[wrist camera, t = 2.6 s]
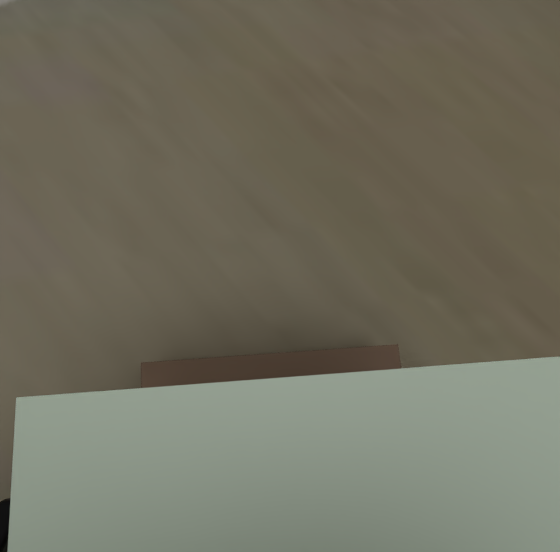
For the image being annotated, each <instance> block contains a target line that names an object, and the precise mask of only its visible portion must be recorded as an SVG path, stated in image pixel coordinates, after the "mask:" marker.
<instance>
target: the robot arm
mask: <svg viewBox="0 0 560 552" xmlns="http://www.w3.org/2000/svg"><path fill="white" fill-rule="evenodd" d="M10 499H11V498H8V499H4V500H3V501H1V502H0V552H8V534H9V517H10Z"/></svg>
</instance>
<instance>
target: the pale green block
mask: <svg viewBox="0 0 560 552" xmlns="http://www.w3.org/2000/svg"><path fill="white" fill-rule="evenodd" d="M8 552H560V357H548V358H535V359H522V360H508V361H495V362H482V363H469V364H455V365H442V366H429V367H416V368H402V369H389V370H376V371H363V372H349V373H336V374H323V375H310V376H296V377H283V378H270V379H257V380H243V381H230V382H217V383H203V384H190V385H177V386H164V387H150V388H137V389H124V390H111V391H97V392H84V393H71V394H58V395H44V396H31V397H18V398H16V412H15V430H14V447H13V465H12V482H11V499H10V517H9V534H8Z"/></svg>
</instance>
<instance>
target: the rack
mask: <svg viewBox="0 0 560 552" xmlns="http://www.w3.org/2000/svg"><path fill="white" fill-rule="evenodd" d="M389 369H401V362H400V355H399V348H398V344H397V345H383V346H369V347H355V348H341V349H327V350H313V351H299V352H285V353H271V354H257V355H243V356H229V357H215V358H201V359H187V360H173V361H159V362H145V363H141V388H150V387H164V386H177V385H190V384H203V383H217V382H230V381H243V380H257V379H270V378H283V377H296V376H310V375H323V374H336V373H349V372H363V371H376V370H389Z"/></svg>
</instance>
